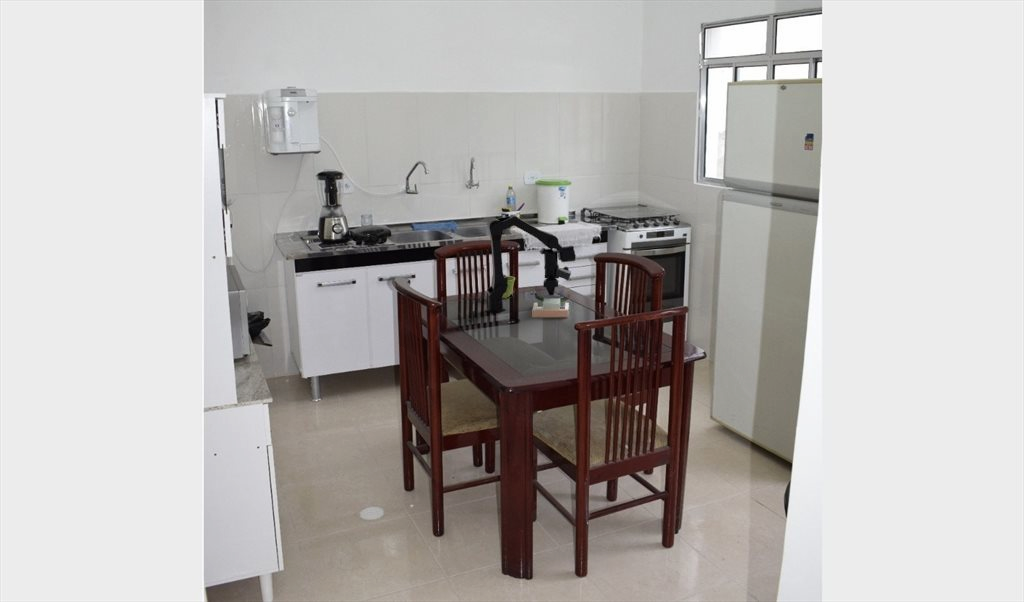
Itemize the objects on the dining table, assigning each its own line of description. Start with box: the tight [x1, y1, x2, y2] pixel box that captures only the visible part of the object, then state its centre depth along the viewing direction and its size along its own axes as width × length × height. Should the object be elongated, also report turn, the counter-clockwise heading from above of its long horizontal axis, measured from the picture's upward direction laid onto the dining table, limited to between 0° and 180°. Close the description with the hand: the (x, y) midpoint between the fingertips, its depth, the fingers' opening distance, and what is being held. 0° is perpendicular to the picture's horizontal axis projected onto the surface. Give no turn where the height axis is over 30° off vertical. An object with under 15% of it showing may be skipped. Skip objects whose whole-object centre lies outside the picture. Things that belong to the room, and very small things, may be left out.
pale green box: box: [542, 294, 561, 309], centre depth 337 cm, size 10×7×5 cm
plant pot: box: [502, 275, 516, 299], centre depth 360 cm, size 9×9×9 cm
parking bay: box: [531, 302, 570, 318], centre depth 334 cm, size 16×15×3 cm
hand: (551, 297), depth 343 cm, fingers closed
